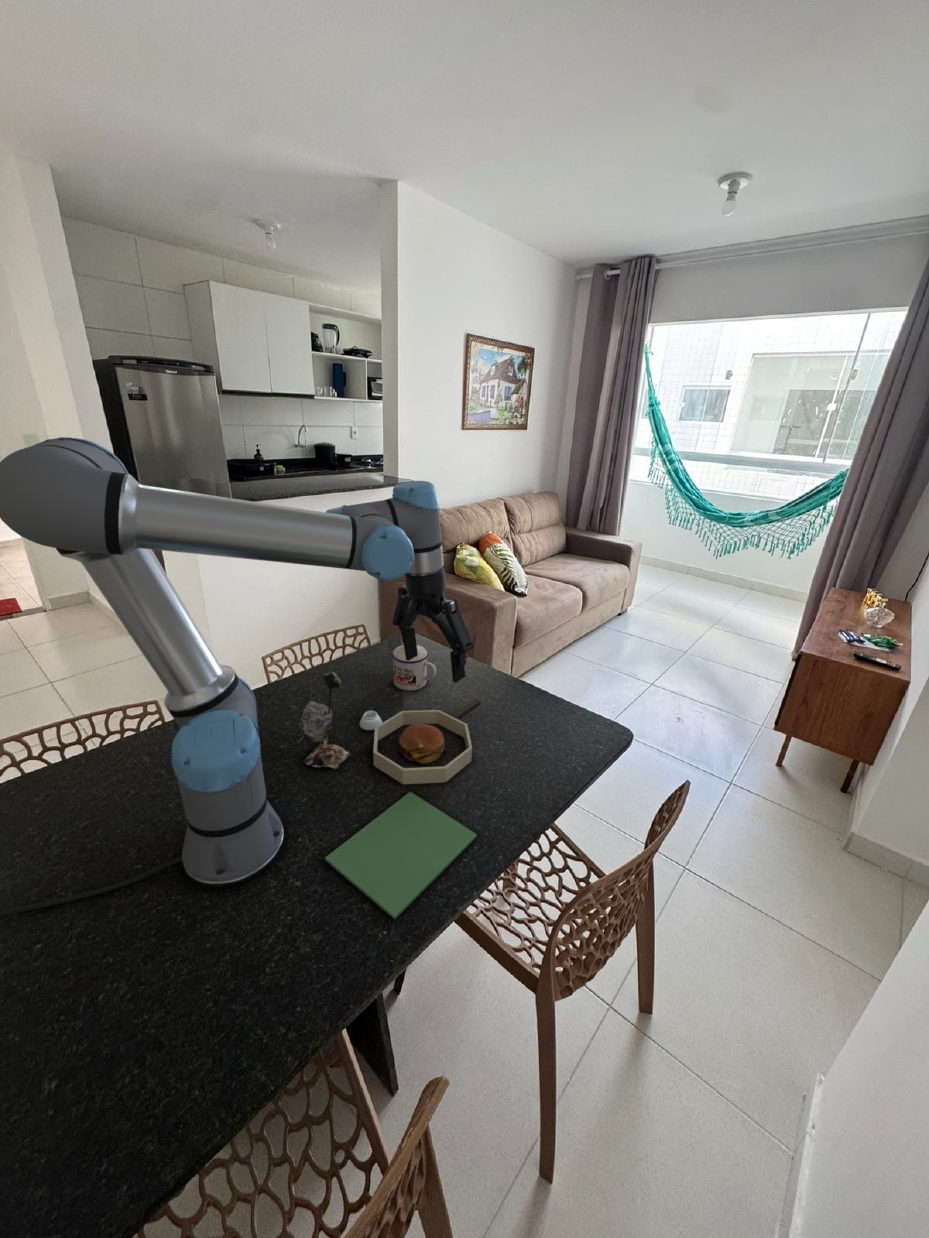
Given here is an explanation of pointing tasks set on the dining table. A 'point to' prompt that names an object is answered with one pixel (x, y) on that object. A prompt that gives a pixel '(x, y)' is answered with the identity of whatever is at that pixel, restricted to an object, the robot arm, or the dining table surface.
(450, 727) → the pan
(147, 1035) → the dining table surface
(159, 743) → the dining table surface
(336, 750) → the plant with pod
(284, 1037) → the dining table surface
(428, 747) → the burger
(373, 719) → the white upturned bowl
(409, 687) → the teacup with lid
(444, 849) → the napkin mat
